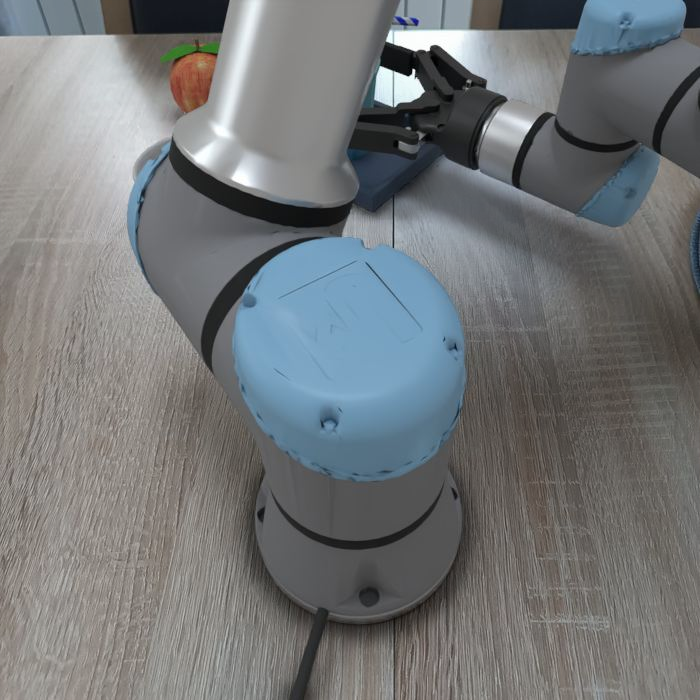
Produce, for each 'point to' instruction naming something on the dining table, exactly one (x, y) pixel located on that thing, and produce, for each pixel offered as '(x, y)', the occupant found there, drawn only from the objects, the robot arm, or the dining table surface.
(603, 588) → the dining table surface
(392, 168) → the tray
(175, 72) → the fruit
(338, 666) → the dining table surface
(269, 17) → the robot arm
